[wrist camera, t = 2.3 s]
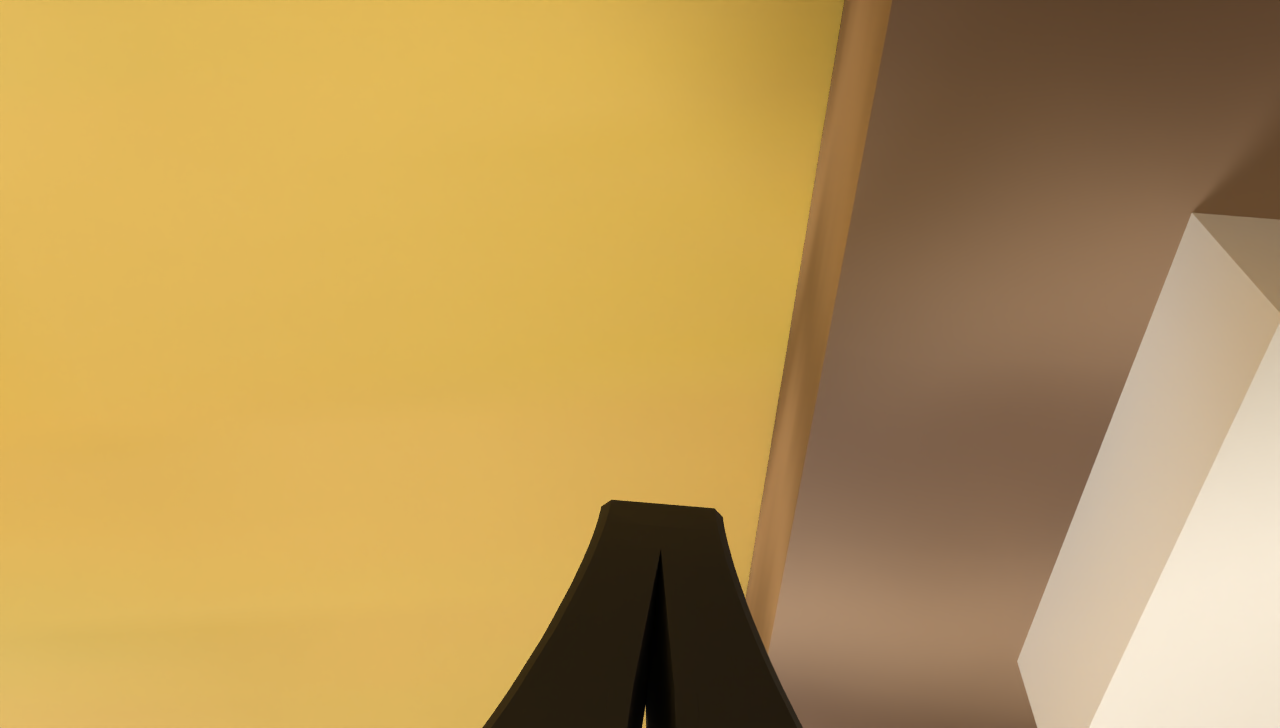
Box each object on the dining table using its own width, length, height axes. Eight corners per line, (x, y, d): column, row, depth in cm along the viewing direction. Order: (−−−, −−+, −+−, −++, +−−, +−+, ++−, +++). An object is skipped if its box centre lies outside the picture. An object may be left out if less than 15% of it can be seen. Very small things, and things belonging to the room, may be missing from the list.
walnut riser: (1289, 720, 23) (1374, 877, 20) (733, 672, 23) (736, 819, 20) (1901, -242, 12) (2261, -214, 10) (896, -315, 13) (950, -308, 10)
